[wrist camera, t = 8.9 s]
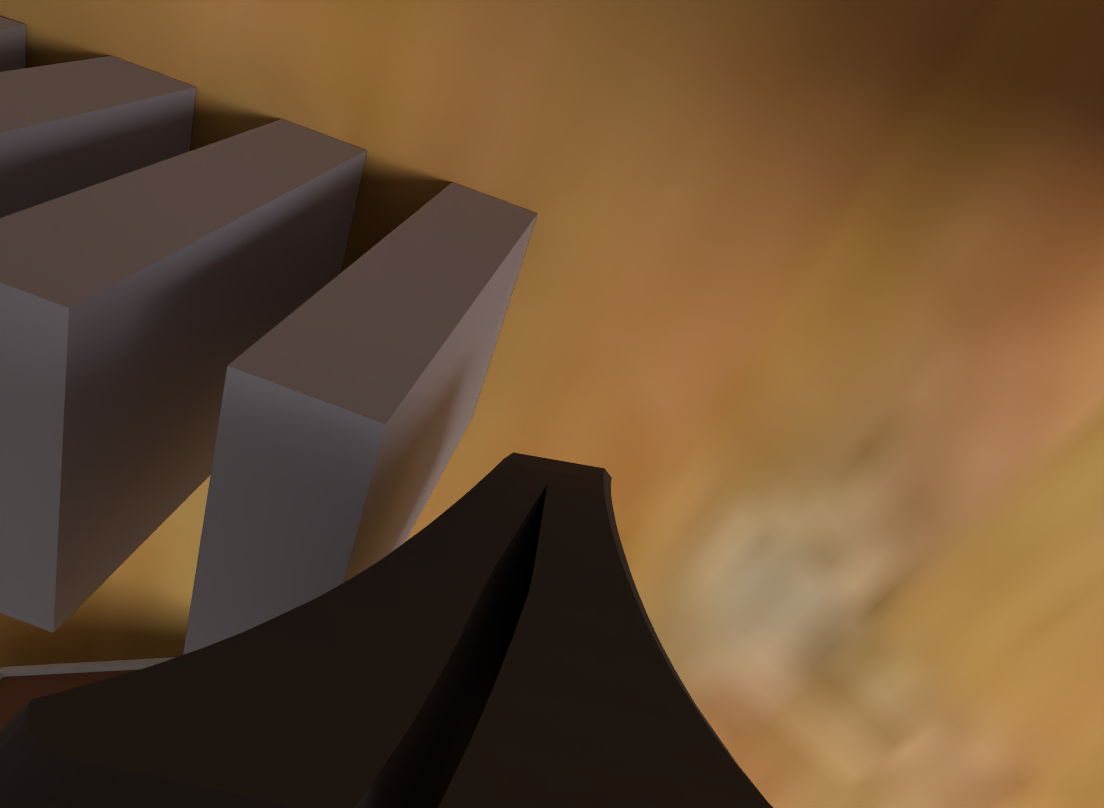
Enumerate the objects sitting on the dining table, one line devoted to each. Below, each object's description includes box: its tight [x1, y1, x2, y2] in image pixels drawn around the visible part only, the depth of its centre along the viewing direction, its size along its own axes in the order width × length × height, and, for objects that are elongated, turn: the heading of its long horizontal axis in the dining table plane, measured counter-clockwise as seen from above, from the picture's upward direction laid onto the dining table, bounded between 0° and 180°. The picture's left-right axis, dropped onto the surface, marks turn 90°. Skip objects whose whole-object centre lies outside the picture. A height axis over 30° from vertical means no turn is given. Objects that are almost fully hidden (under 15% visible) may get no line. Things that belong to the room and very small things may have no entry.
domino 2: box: [0, 119, 367, 633], centre depth 13 cm, size 2×4×8 cm, turn 161°
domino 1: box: [183, 182, 537, 655], centre depth 13 cm, size 2×4×8 cm, turn 162°
